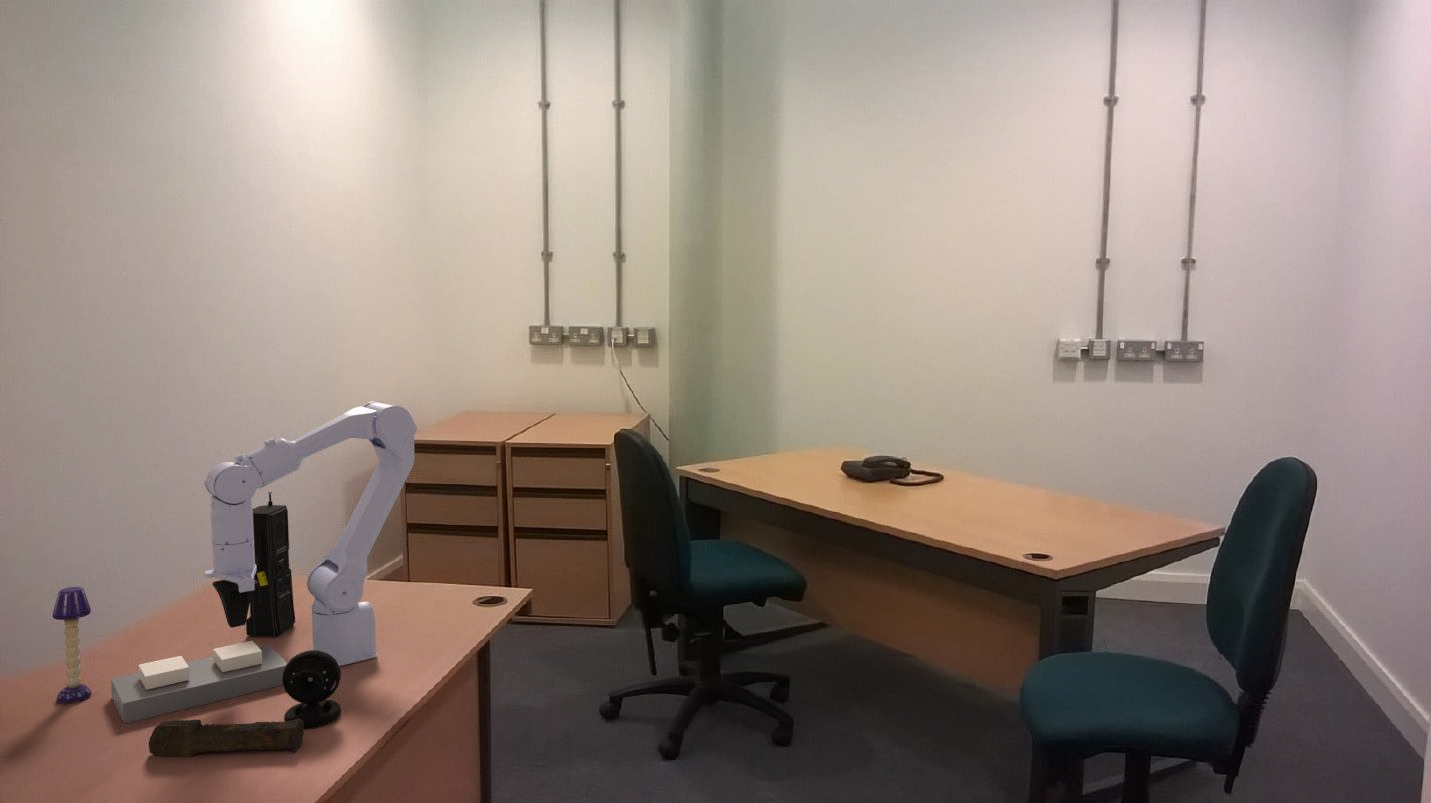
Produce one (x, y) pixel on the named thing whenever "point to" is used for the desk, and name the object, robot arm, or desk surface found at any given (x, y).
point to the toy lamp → (72, 640)
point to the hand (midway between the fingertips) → (236, 625)
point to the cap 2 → (237, 656)
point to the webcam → (312, 688)
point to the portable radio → (271, 573)
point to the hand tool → (223, 737)
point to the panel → (195, 687)
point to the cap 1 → (163, 672)
